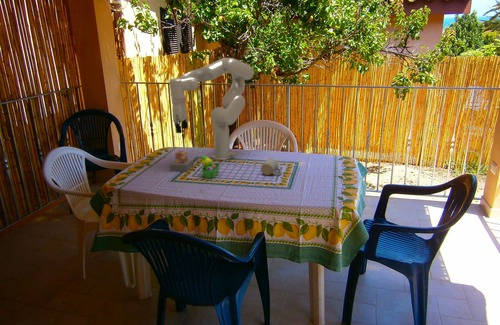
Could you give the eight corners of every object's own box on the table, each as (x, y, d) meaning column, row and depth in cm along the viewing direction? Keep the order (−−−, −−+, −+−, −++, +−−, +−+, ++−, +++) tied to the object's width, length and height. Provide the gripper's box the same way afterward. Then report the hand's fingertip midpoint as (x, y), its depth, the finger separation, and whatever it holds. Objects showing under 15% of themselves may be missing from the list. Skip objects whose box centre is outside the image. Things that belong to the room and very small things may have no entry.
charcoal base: (193, 166, 223) (192, 159, 222) (186, 171, 214) (186, 165, 212) (177, 165, 225) (177, 158, 224) (170, 170, 216) (170, 164, 215)
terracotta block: (187, 160, 220) (186, 150, 218) (184, 163, 215) (183, 153, 213) (179, 160, 221) (178, 150, 219) (175, 163, 216) (175, 153, 214)
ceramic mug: (260, 175, 206) (260, 161, 203) (265, 170, 213) (265, 157, 210) (278, 177, 202) (278, 164, 199) (283, 172, 209) (283, 159, 206)
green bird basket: (215, 179, 201) (213, 159, 198) (199, 178, 203) (197, 158, 199) (220, 172, 212) (219, 152, 208) (205, 171, 214) (204, 152, 210)
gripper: (178, 98, 219) (181, 126, 225) (166, 104, 203) (170, 134, 209) (190, 97, 217) (193, 126, 223) (179, 103, 201) (182, 134, 207)
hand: (182, 130), depth 216 cm, fingers open, 9 cm apart
